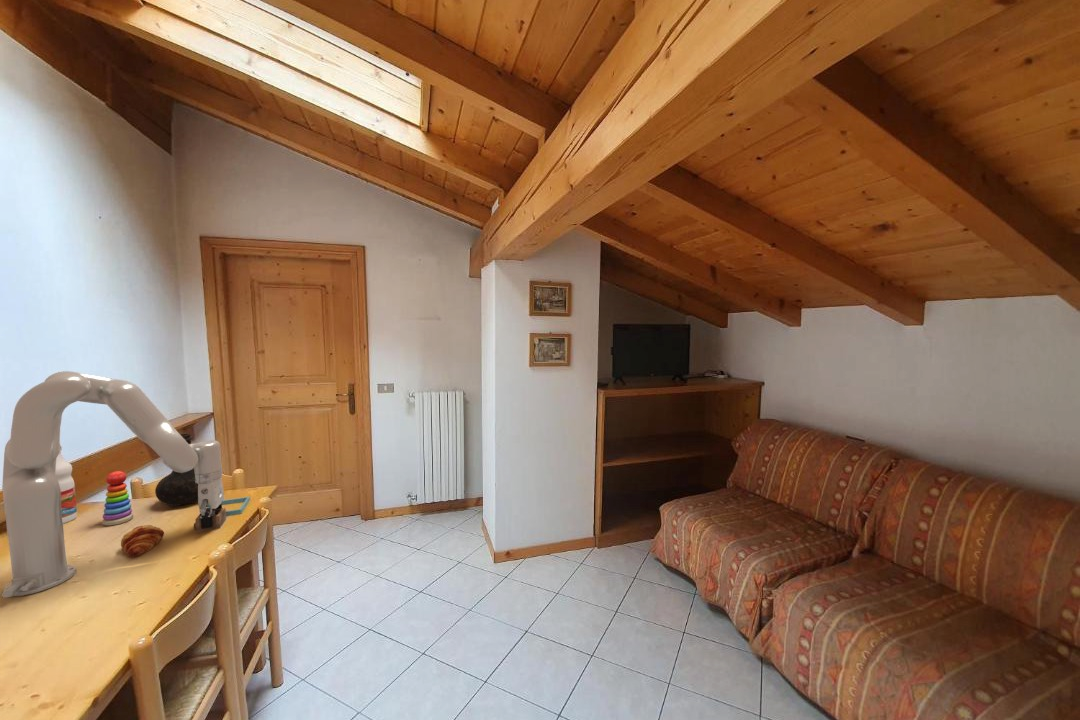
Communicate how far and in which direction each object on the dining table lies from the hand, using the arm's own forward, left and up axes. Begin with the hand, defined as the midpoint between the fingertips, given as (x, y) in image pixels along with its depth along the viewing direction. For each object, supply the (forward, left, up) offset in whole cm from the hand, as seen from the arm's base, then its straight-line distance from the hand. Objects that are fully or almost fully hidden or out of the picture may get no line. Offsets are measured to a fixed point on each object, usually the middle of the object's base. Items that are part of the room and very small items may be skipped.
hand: (212, 521), depth 144 cm
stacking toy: (+18, +33, -2) cm, 38 cm away
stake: (0, 0, -2) cm, 2 cm away
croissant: (-6, +17, -2) cm, 18 cm away
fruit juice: (+26, +53, -2) cm, 59 cm away
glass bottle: (+30, +17, -2) cm, 35 cm away
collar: (0, 0, -1) cm, 1 cm away
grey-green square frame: (+13, -1, -2) cm, 13 cm away
